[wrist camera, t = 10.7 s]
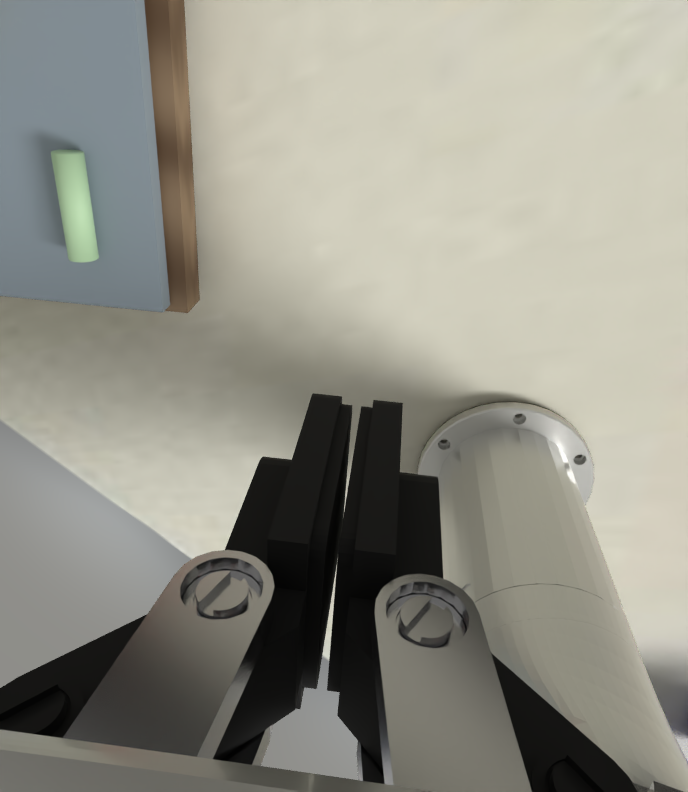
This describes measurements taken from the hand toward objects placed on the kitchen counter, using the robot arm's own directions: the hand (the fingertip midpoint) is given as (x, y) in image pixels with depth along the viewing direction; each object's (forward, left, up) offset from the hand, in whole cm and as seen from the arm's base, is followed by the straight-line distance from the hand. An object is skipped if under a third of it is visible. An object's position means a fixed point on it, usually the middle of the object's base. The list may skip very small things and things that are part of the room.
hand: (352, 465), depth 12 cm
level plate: (+2, +22, -25) cm, 33 cm away
